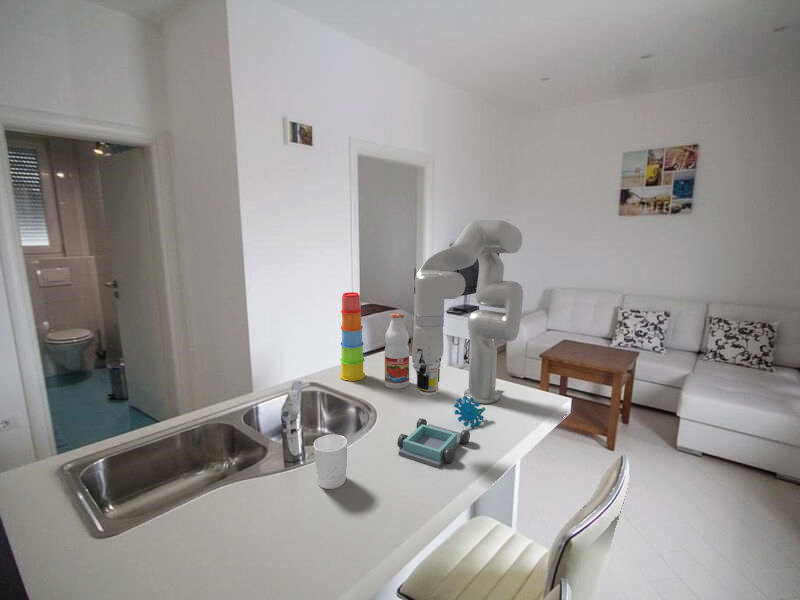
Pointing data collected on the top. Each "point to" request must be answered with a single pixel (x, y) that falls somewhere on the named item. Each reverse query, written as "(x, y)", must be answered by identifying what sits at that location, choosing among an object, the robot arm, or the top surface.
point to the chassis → (431, 444)
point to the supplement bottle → (431, 378)
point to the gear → (469, 411)
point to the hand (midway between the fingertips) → (428, 384)
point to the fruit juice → (397, 353)
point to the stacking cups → (351, 338)
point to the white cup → (331, 460)
